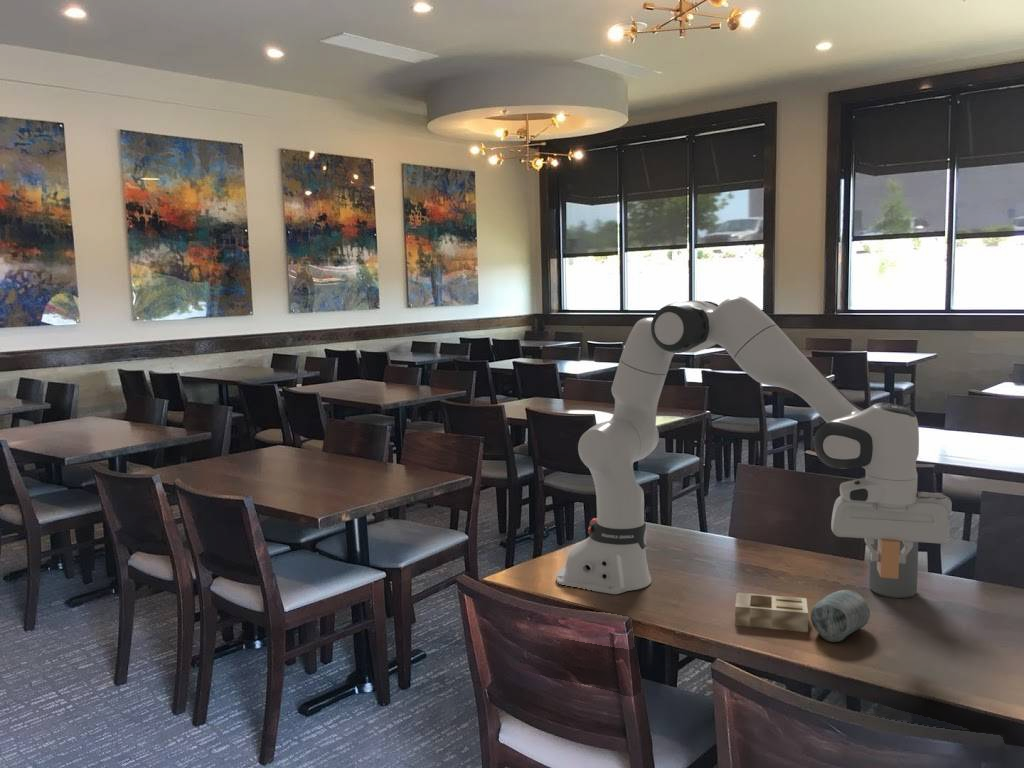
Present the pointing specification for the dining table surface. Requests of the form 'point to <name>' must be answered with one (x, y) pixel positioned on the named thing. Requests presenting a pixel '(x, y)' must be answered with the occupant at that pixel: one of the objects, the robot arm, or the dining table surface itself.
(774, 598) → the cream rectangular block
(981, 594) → the dining table surface
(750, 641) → the dining table surface
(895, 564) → the orange rectangular block
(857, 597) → the spool
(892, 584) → the water bottle
